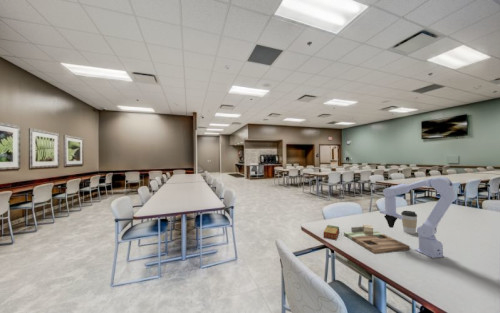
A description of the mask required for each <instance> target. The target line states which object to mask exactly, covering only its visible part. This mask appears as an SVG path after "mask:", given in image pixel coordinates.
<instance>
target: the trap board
mask: <svg viewBox="0 0 500 313" xmlns="http://www.w3.org/2000/svg"><path fill="white" fill-rule="evenodd" d="M343 236H345V237H346V238H349V239H350V240H351V241H352V242H355V243H356V244H358V245H360V246H361V247H363V248H364V249H366V250H368V251H369V252H371V253H373V254H379V253H388V252H389V253H390V252H399V251H407V250H410V249H411V248H410V245H408V244H406V243H404V242H402V241H401V240H397V239H395V238H393V237H391V236H388V235H387V234H384V233H381V232H379V231H377V230H375V229H373V235H367V234H364V232H363V225H362V226H352V227H351V230H350V231H344V232H343Z"/></svg>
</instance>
